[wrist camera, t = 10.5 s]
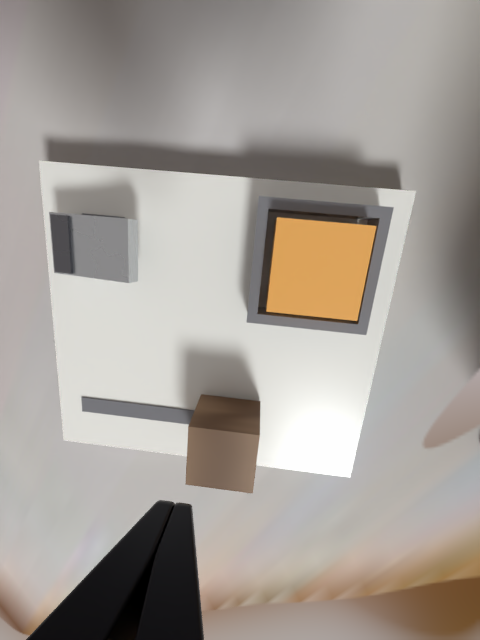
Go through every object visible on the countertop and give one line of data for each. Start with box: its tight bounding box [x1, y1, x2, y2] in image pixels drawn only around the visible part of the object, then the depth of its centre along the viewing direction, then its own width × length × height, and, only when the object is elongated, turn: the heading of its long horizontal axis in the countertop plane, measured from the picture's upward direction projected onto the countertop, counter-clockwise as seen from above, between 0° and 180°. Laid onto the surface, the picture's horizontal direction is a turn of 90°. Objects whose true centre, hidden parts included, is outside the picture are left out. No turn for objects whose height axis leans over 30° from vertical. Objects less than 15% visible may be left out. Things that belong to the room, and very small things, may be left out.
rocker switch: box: [49, 212, 138, 283], centre depth 15 cm, size 4×3×1 cm
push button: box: [266, 217, 376, 321], centre depth 14 cm, size 4×4×2 cm
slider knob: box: [186, 394, 260, 493], centre depth 17 cm, size 4×4×3 cm
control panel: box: [39, 161, 416, 477], centre depth 17 cm, size 19×17×3 cm
